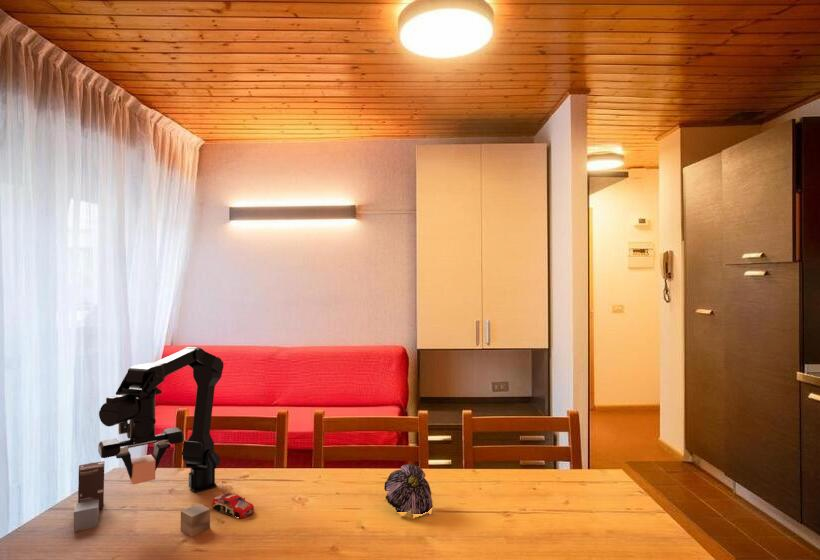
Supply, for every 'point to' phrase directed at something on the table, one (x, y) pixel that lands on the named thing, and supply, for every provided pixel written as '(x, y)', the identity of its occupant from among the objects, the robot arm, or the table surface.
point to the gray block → (86, 515)
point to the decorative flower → (409, 490)
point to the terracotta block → (143, 469)
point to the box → (91, 483)
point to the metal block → (195, 519)
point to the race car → (232, 505)
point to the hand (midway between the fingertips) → (142, 474)
